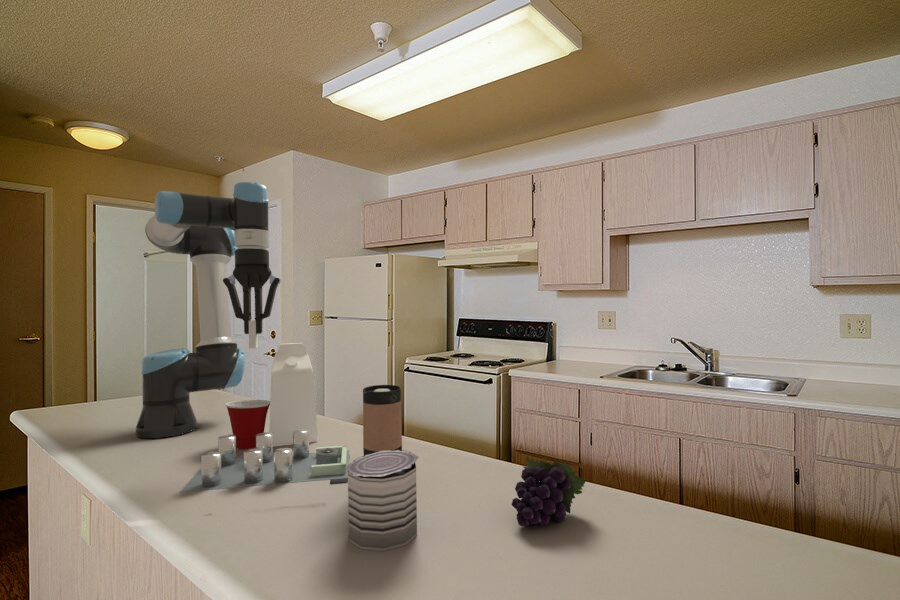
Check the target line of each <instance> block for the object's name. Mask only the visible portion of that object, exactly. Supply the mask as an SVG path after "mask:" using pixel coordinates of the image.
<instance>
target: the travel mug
mask: <svg viewBox="0 0 900 600" xmlns="http://www.w3.org/2000/svg"><path fill="white" fill-rule="evenodd" d="M362 421H363V422H362V426H363V427H362V429H363V430H362V436H363V437H362V439H363V440H362V443H363V445H362V446H363V447H362V449H363V456H365V455H369V454H372V453H376V452H379V451H395V450H403V432H402V429H403V428H402V425H403V424H402V423H403V422H402V388H401V387H400V386H398V385H394V384H378V385H377V384H376V385H375V384H374V385H369V386H366V387H364V388H363V389H362Z"/></svg>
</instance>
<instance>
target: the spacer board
mask: <svg viewBox="0 0 900 600" xmlns="http://www.w3.org/2000/svg"><path fill="white" fill-rule="evenodd" d="M341 457H342V456H338V463H341ZM292 462H293V479H292V480H291V481H289V482H286V483H276V482H274V455H273V461H271V462H268V463H263V480H262V481H261V482H258V483H254V484H246V483H244V457H242V458H241V457H240V458H238V457H237V458H236V463H235V464H233V465H230V466H221V475H222V483H221V484H220V485H217V486H214V487H202V473H201V468H200V469H199V470H198V471H197V472H196V473H195V474H194V475H193V477H191V479H190V480H189V481H187V483H186V484H185V486H183V487H182V489H180V490H179V493H190V492H197V491H198V492H201V491H210V490H224V489H233V488H234V489H236V488H237V489H238V488H247V487H248V488H249V487H256V486H257V487H259V486H272V485H280V484H281V485H282V484H283V485H284V484H294V483H306V482H317V481H329V484H336V483H337V484H339V483H348V471H347V470H346V474H336V475H324V476H312V477H311V466H312V465H316V452H309V457H307V458H304V459H294V458H293V453H292ZM349 464H350V450H348V449H347V461H346V467H347V466H348V465H349Z"/></svg>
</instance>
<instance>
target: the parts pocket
mask: <svg viewBox="0 0 900 600" xmlns="http://www.w3.org/2000/svg"><path fill="white" fill-rule="evenodd" d="M325 448H335V449H338V456H342V457H341V463H335V464H322V465H312V466H311V477H312V476H324V475H336V474H346V469H345V468H346V461H347V450H348V446H347V445H335V446H333V445H332V446H321V447H319V446H318V447H316V448H315V453H317V450H321V449H325Z"/></svg>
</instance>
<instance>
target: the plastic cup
mask: <svg viewBox="0 0 900 600" xmlns="http://www.w3.org/2000/svg"><path fill="white" fill-rule="evenodd" d="M224 405H225V407H226V409H227V413H228V417H229V421H230V422H229V423H230V427H231V433H232V435H235V436H236V450H244V451H246V450H249V449H256V435H257V434H259V433H265V427H266V421H267V415H268V411H269V409H270V400H266V399H265V400H264V399H243V400H241V399H240V400H235V401H229V402H225V404H224Z"/></svg>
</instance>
